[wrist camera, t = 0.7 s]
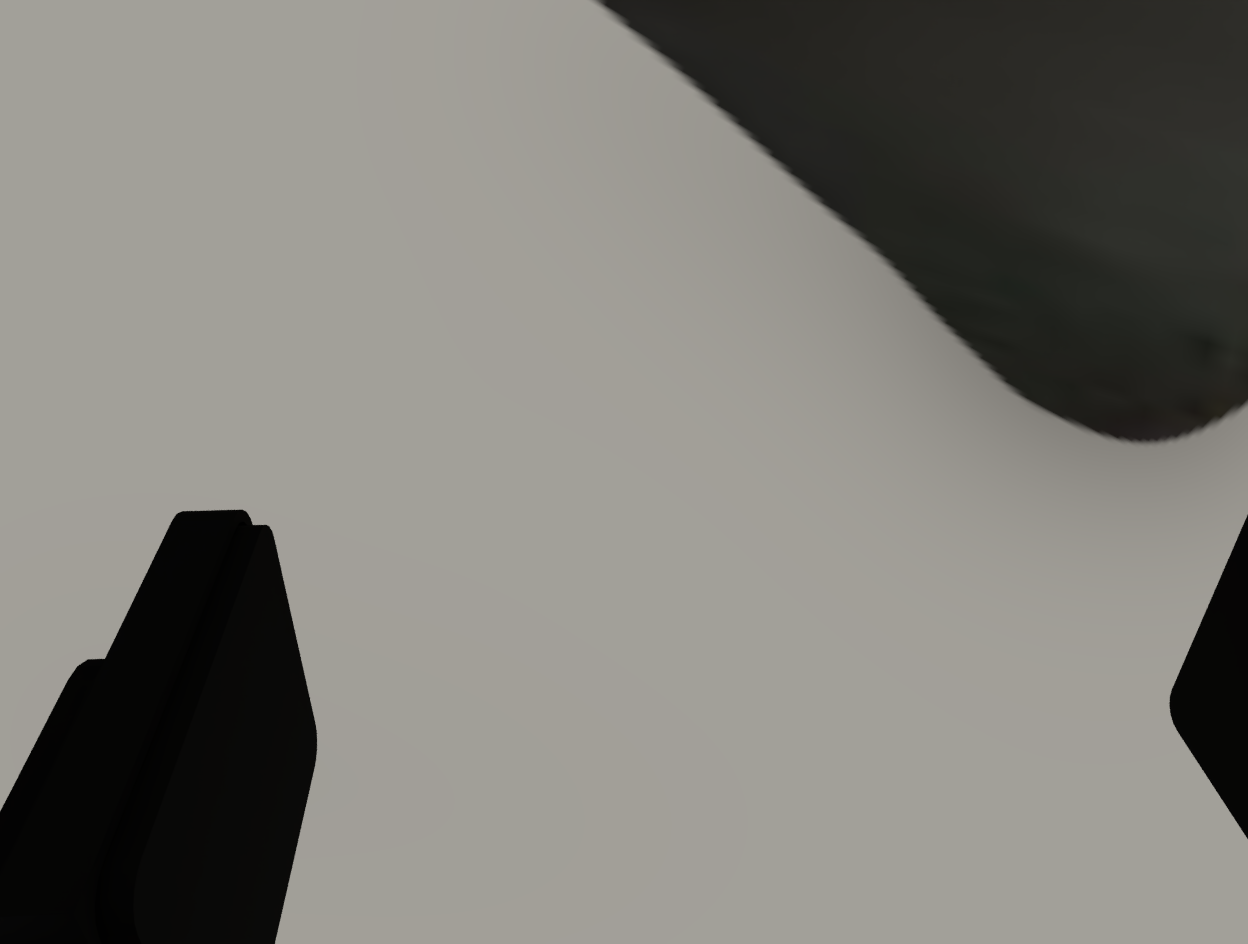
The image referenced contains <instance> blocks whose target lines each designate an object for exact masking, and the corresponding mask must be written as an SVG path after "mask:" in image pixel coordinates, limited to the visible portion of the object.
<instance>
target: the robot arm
mask: <svg viewBox="0 0 1248 944" xmlns="http://www.w3.org/2000/svg"><path fill="white" fill-rule="evenodd" d="M1170 713H1171V717H1172V720H1173V724H1174V725H1175V727H1176V729H1177V731H1178V733H1179V734H1180V736H1181V737H1182V739H1183V740H1184V742H1185V743H1186V745H1187V746H1188V748H1189V750H1190V751H1191V753H1192V754H1193V756H1194V757H1195V759H1196V760H1197V762H1198V763H1199V765H1200V766H1201V768H1202V770H1203V771H1204V773H1205V774H1206V776H1207V777H1208V779H1209V780H1210V782H1211V783H1212V785H1213V786H1214V788H1215V789H1216V791H1217V792H1218V794H1219V796H1220V797H1221V799H1222V800H1223V802H1224V803H1225V805H1226V806H1227V808H1228V809H1229V811H1230V812H1231V814H1232V816H1233V817H1234V819H1235V820H1236V822H1237V823H1238V825H1239V826H1240V828H1241V829H1242V831H1243V832H1244V834H1245V835H1246V837H1247V839H1248V515H1247V518H1246V520H1245V522H1244V525H1243V527H1242V529H1241V531H1240V534H1239V536H1238V538H1237V541H1236V543H1235V546H1234V548H1233V550H1232V552H1231V555H1230V557H1229V559H1228V561H1227V564H1226V566H1225V569H1224V571H1223V573H1222V575H1221V578H1220V580H1219V582H1218V585H1217V587H1216V589H1215V591H1214V594H1213V597H1212V599H1211V601H1210V603H1209V605H1208V608H1207V610H1206V612H1205V615H1204V617H1203V619H1202V622H1201V624H1200V626H1199V628H1198V631H1197V633H1196V635H1195V638H1194V640H1193V642H1192V645H1191V647H1190V649H1189V651H1188V654H1187V656H1186V659H1185V661H1184V663H1183V665H1182V668H1181V670H1180V672H1179V675H1178V677H1177V679H1176V681H1175V684H1174V686H1173V688H1172V691H1171V695H1170ZM316 754H317V731H316V725H315V720H314V715H313V711H312V706H311V702H310V697H309V693H308V689H307V684H306V679H305V675H304V670H303V666H302V661H301V657H300V652H299V648H298V644H297V640H296V634H295V630H294V626H293V621H292V616H291V612H290V607H289V603H288V599H287V594H286V589H285V585H284V581H283V576H282V571H281V567H280V562H279V558H278V553H277V549H276V545H275V540H274V536H273V533H272V530H271V529H270V527H269V526H267V525H252V521H251V518H250V517H249V515H248V513H247V512H246V511H244V510H215V511H182V512H180V513H178V514H176V516H175V517H174V519H173V520H172V522H171V524H170V526H169V528H168V530H167V532H166V535H165V537H164V539H163V541H162V543H161V545H160V547H159V549H158V551H157V553H156V555H155V557H154V559H153V561H152V563H151V565H150V568H149V569H148V572H147V574H146V576H145V578H144V580H143V582H142V584H141V586H140V588H139V590H138V592H137V594H136V596H135V598H134V601H133V602H132V605H131V607H130V609H129V611H128V613H127V615H126V617H125V619H124V621H123V623H122V625H121V627H120V629H119V631H118V633H117V636H116V638H115V639H114V642H113V644H112V646H111V648H110V650H109V652H108V654H107V656H106V658H105V659H88V660H87V661H85V662H83V663H82V664H81V665H79V666H77V668H76V669H75V671H74V672H73V674H72V675H71V677H70V678H69V679H68V681H67V683H66V685H65V687H64V689H63V691H62V693H61V695H60V697H59V698H58V700H57V702H56V704H55V706H54V708H53V710H52V712H51V714H50V716H49V718H48V720H47V722H46V724H45V726H44V728H43V730H42V731H41V734H40V736H39V737H38V739H37V741H36V743H35V745H34V747H33V749H32V751H31V753H30V755H29V757H28V759H27V761H26V763H25V765H24V766H23V769H22V770H21V772H20V774H19V776H18V779H17V780H16V782H15V784H14V786H13V788H12V790H11V792H10V794H9V796H8V798H7V800H6V801H5V803H4V805H3V807H2V809H1V811H0V944H275V940H276V936H277V932H278V927H279V922H280V918H281V914H282V909H283V905H284V900H285V896H286V892H287V887H288V883H289V878H290V874H291V870H292V865H293V861H294V856H295V851H296V847H297V843H298V838H299V834H300V829H301V825H302V821H303V817H304V811H305V807H306V803H307V799H308V794H309V790H310V785H311V780H312V777H313V772H314V767H315V762H316Z"/></svg>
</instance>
